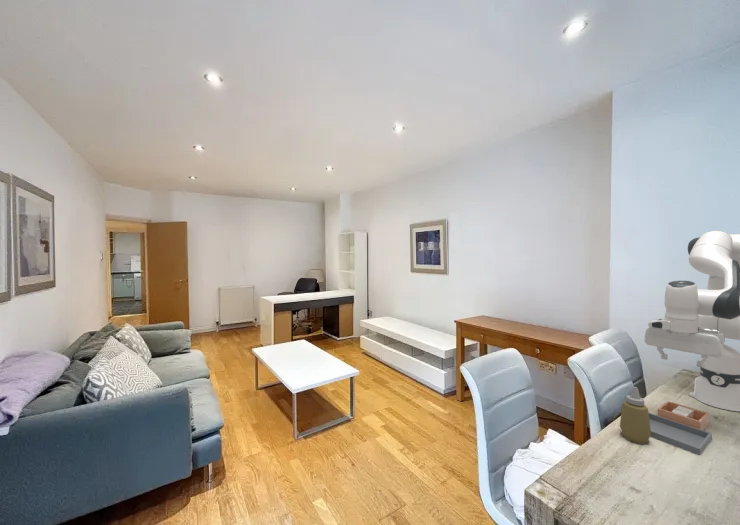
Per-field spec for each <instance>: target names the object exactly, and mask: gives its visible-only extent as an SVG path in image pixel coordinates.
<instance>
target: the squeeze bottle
mask: <svg viewBox="0 0 740 525" xmlns="http://www.w3.org/2000/svg"><path fill="white" fill-rule="evenodd" d="M640 395H641V394H640V392H639V389H638V387H637V386H633V387H632V389H631V392H630V394H627V395H626V396H625V398H626V399H625V401H623V402H622V406H621V414H620V421H619V427H620V430H621V433H622V435H623V437H624V438H625V439H627V440H629V441H630V442H633V443H636V444H642V445H643V444H647V443H648V442H649V440H650V438H651V437H650V436H651V428H650V420H649V413H650V412H649V408H648V407H647V406H646V405H645V399H644V398H643V397H641V396H640Z"/></svg>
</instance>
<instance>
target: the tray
mask: <svg viewBox="0 0 740 525" xmlns="http://www.w3.org/2000/svg"><path fill="white" fill-rule="evenodd" d="M649 420H650V428H651V436H650V438H652V439H655V440H658V441H660V442H663V443H665V444H669V445H671V446H673V447H676V448H679V449H682V450H684V451H687V452H690V453H692V454H694V455H697V456H701V455H702V453H703V452H704V451H705V450H706V448H707V447H708V445H709V444H710V443H711V442H712V441H713V433H712V432H708V431H705V430H700V429H697V428H694V427H691V426H688V425H685V424H682V423H679V422H676V421H672V420H669V419H666V418H663V417H660V416H658V414H655V413H651V412H649Z"/></svg>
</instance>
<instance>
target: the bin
mask: <svg viewBox="0 0 740 525" xmlns="http://www.w3.org/2000/svg"><path fill="white" fill-rule="evenodd" d="M678 406H681V407H685V408H688V409H692V410H694V419H691V418H688V417H685V416H682V415H679V414H676V413H672V411H673V409H675V408H677V407H678ZM657 416H660V417H663V418H666V419H669V420H672V421H676V422H679V423H682V424H685V425H688V426H691V427H694V428H697V429H700V430H703V431H705V429H706V428H707V427H708V426H709V423H710V413H709V412H706V411H702V410H699V409H698V408H694V407H689V406H686V405H682V404H679V403H676V402H673V401H669V400H667V401H665V402H664V403H662V404H661V405H660V406H659V407H657Z"/></svg>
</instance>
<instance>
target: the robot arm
mask: <svg viewBox="0 0 740 525" xmlns="http://www.w3.org/2000/svg"><path fill="white" fill-rule="evenodd" d="M687 253H688V261H689V265H690V266H691V267H692V268H693V269H694V270H696V271H698V272H700V273H701V274H705V275H708V282H707V287H706V288H707V289H706V288H705V289H704V288H698V286H697V284H696V283H695V282H694V281H690V280H674V281H670V282H668V283H667V284H666V287H665V294H664V307H665V312H664V313H665V314H664V318H659V319H653V320H650V321H649V322H648V323H647V326H648V328H646V329H645V334H644V343H645V344H646V345H648V346H652V347H656V350H657V352H658V353H659V354H660V359H661V360H666V361H667V360H668V359H669V358H668V353H665V352H664V351H663V350H664V349H667V350H668V349H669V350H673V351H679V352H684V353H689V354H690V353H691V354H696V355H700V358H701V360H696V366H697V367H699V376H697V377H695V378H694V385H693V386H694V390H693V391H690V392H689V393H688V395H689V396H690V397H692V398H695V399H696V400H698V401H699V402H701V403H702V404H703V403H704V404H706V405H707V406H708V405H709V406H711V407H714V408H717V409H722V410H727V411H732V412H740V352H739V351H738V350H736V349H735V348H733V347H731V346H729V345H726V344H725V341H726V340H725V339H729V340H736V341H740V233H733V234H732V233H731V234H729V233H727V232H725V231H720V230H711V231H708V232H705V233H703V234H701V236H699V237H695V238H692V239H691V240H690V241H689V242H688V244H687Z"/></svg>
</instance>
